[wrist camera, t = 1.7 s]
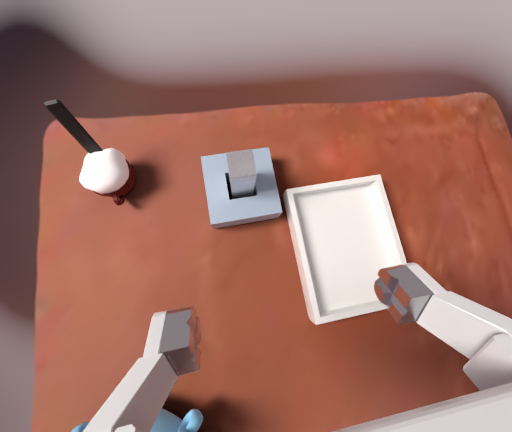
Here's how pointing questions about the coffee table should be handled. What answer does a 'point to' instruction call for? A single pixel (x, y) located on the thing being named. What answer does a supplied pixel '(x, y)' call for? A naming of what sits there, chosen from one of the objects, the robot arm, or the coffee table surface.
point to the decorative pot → (168, 422)
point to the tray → (342, 245)
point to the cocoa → (97, 159)
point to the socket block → (240, 209)
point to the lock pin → (241, 173)
